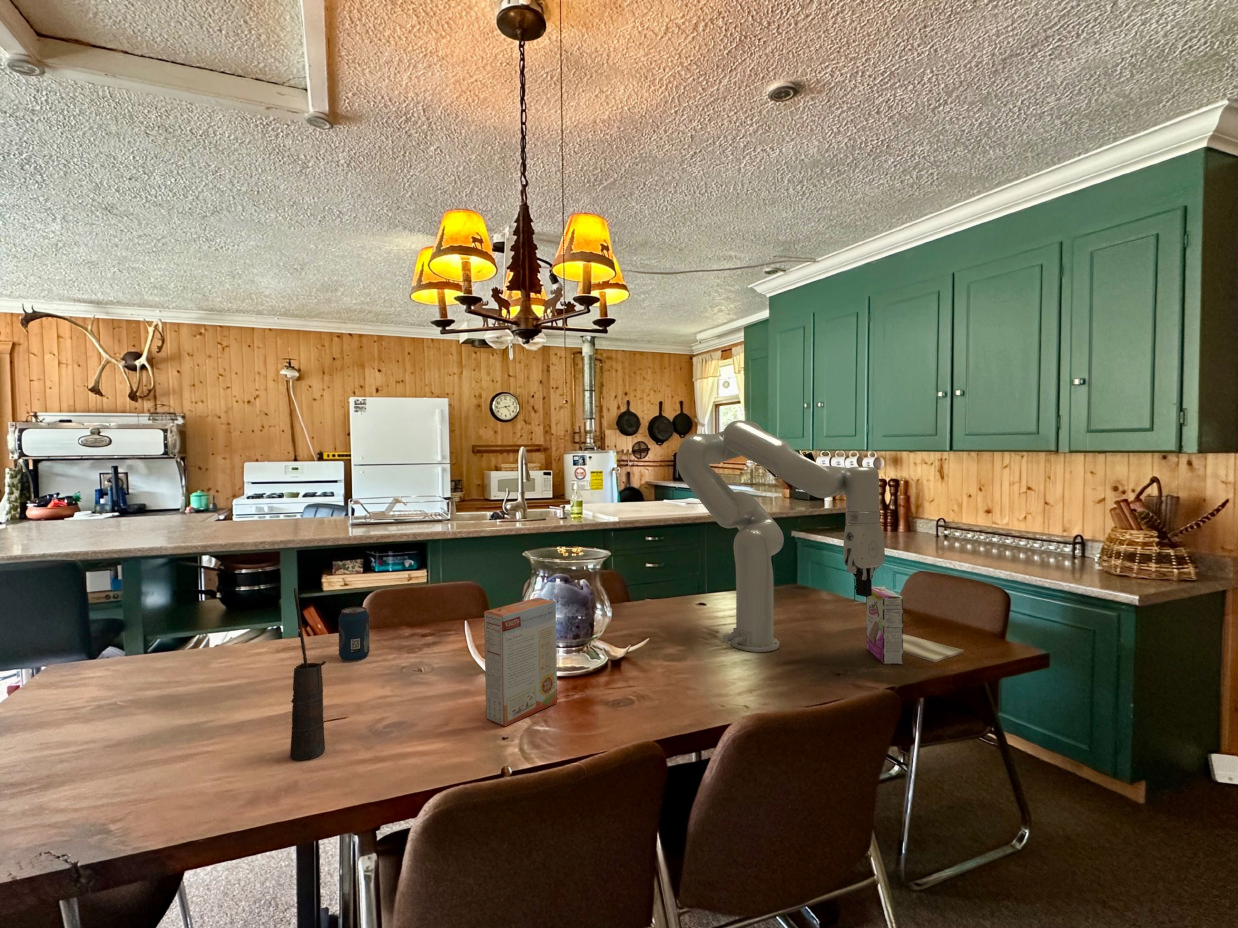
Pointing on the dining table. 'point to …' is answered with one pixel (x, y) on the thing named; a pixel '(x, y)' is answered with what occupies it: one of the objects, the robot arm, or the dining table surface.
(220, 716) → the dining table surface
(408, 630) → the dining table surface
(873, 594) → the candy bar box
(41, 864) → the dining table surface
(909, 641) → the beige flat rectangular panel
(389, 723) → the dining table surface
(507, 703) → the cracker box
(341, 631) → the soda can
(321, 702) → the butter churn
